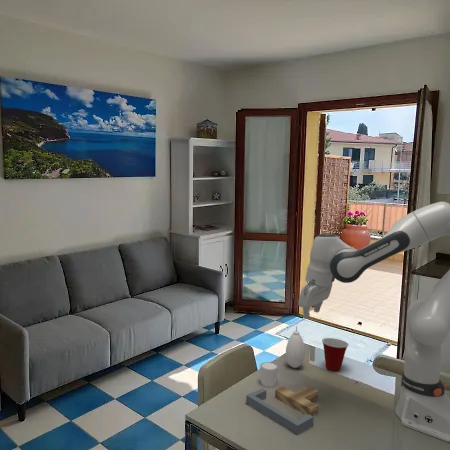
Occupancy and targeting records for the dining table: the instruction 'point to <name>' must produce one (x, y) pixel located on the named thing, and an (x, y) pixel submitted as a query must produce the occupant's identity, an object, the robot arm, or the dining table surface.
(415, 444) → the dining table surface
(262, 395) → the dock
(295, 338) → the sauce bottle
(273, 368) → the white cylinder
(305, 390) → the t block
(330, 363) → the plastic cup
